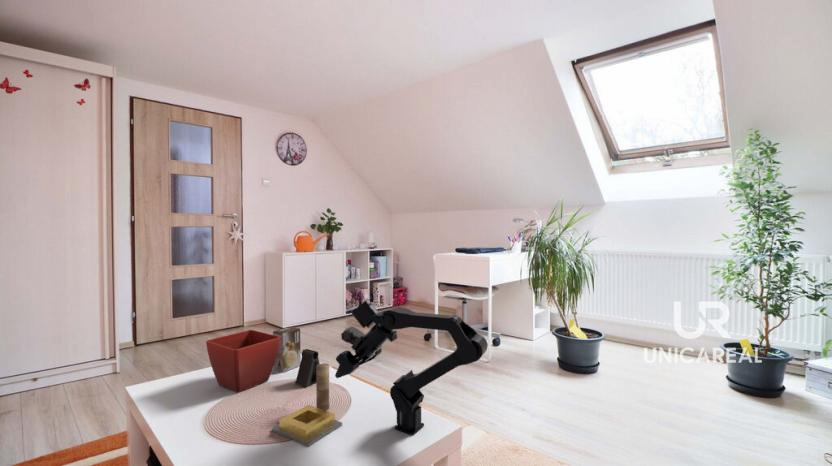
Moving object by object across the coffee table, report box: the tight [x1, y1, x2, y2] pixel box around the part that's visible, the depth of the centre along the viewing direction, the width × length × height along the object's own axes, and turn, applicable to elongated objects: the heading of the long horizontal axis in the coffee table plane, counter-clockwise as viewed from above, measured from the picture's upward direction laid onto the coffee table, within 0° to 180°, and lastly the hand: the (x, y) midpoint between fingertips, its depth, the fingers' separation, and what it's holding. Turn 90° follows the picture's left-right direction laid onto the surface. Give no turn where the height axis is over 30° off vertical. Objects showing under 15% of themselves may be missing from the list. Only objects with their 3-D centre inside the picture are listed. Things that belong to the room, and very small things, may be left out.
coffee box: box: [272, 326, 302, 373], centre depth 160 cm, size 9×6×16 cm
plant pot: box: [205, 329, 280, 393], centre depth 144 cm, size 19×19×17 cm
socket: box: [271, 404, 343, 447], centre depth 112 cm, size 15×13×3 cm
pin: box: [315, 362, 330, 411], centre depth 124 cm, size 4×4×14 cm
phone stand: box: [294, 348, 321, 388], centre depth 145 cm, size 9×6×12 cm, turn 147°
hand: (344, 371), depth 121 cm, fingers open, 9 cm apart
